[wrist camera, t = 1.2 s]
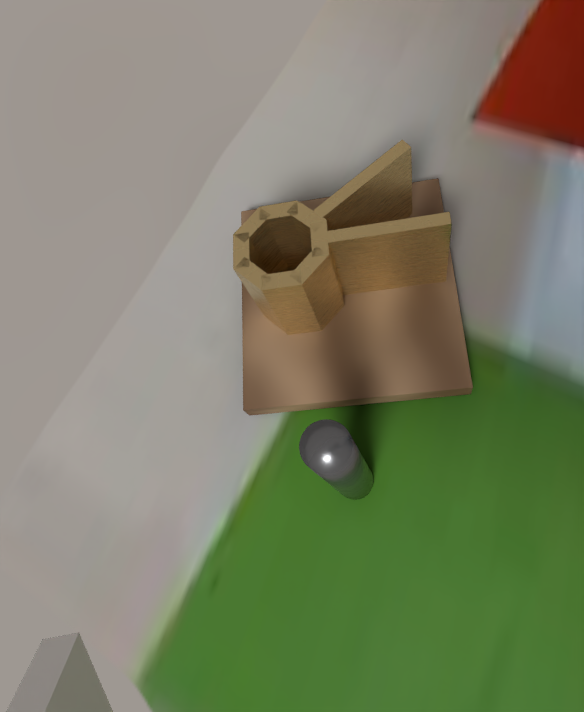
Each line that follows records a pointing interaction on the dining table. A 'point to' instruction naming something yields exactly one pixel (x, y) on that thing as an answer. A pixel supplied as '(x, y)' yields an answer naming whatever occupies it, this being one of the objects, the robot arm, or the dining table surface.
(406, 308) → the walnut board
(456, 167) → the dining table surface
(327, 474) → the hinge pin
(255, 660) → the dining table surface
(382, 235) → the brass hinge
